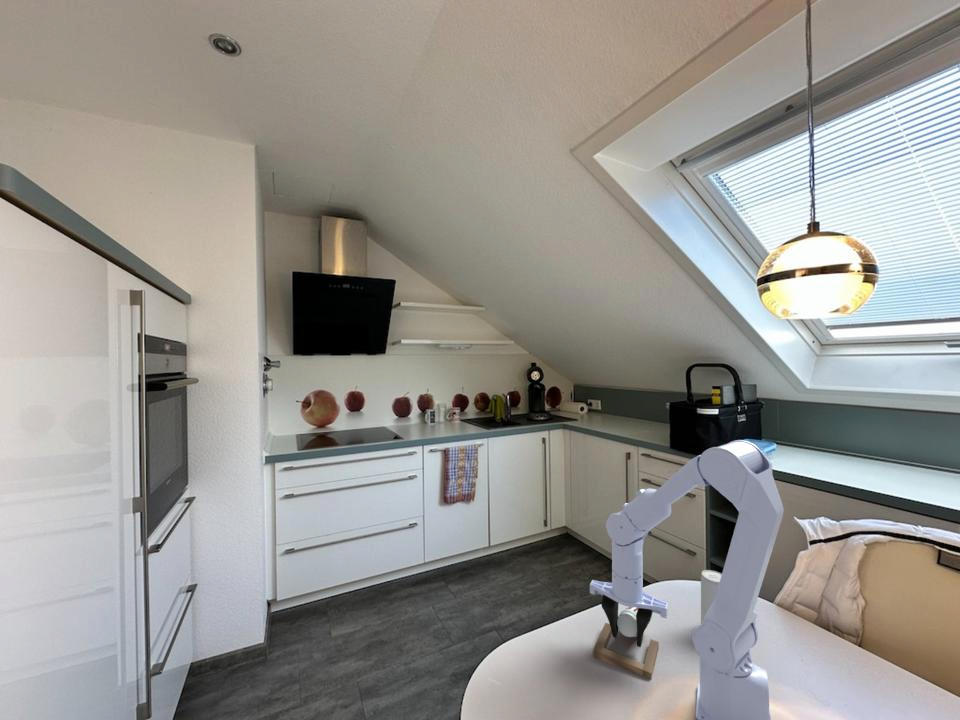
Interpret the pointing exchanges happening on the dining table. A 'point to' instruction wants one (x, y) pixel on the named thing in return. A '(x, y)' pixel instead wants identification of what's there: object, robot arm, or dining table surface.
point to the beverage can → (708, 590)
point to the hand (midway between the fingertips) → (627, 638)
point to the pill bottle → (628, 622)
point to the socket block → (621, 660)
